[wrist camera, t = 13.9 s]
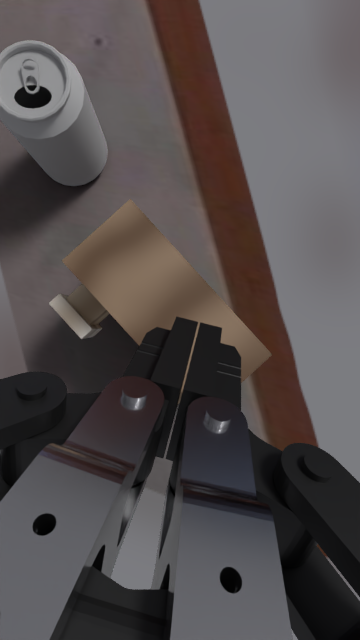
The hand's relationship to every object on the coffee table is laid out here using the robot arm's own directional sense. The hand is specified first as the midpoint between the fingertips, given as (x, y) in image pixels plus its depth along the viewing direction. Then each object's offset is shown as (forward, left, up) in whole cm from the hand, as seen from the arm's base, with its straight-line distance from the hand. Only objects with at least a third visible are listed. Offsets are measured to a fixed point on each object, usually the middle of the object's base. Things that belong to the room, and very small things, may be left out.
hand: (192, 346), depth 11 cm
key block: (-2, 0, -27) cm, 27 cm away
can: (-22, +4, -27) cm, 35 cm away
